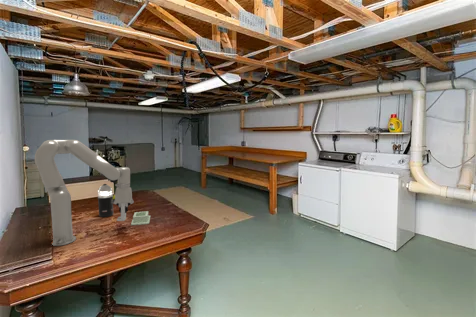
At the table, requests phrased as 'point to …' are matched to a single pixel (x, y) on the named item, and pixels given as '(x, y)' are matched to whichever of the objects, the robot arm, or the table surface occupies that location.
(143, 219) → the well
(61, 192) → the robot arm
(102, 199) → the black silver cylindrical canister
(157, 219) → the table surface
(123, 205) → the bracket
